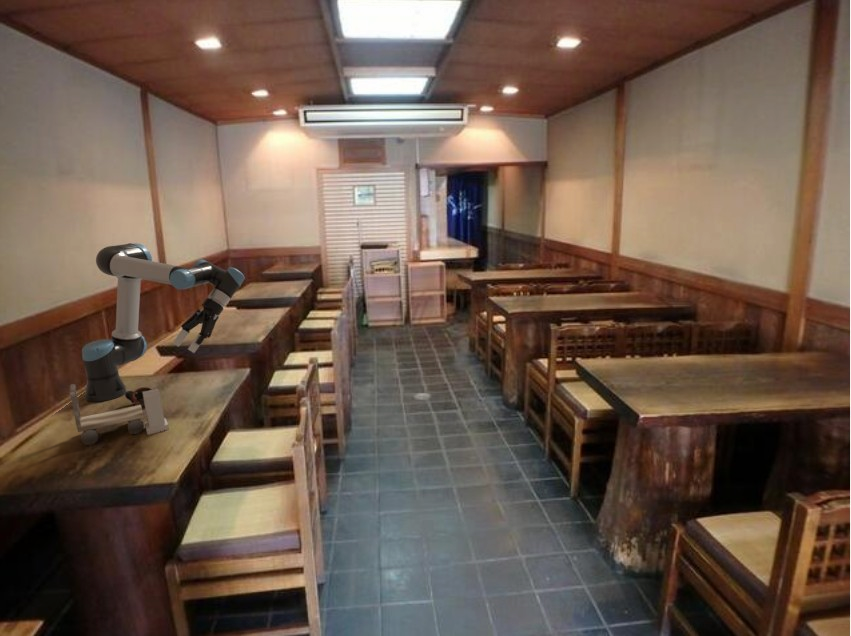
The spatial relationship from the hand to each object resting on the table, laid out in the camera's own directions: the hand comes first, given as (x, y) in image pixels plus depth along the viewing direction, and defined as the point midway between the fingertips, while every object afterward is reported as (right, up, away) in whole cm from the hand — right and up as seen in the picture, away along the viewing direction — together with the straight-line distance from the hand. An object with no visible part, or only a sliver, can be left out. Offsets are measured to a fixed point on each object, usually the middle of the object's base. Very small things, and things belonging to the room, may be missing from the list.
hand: (183, 348), depth 199 cm
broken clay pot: (-23, -24, +14) cm, 36 cm away
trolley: (-20, -30, -12) cm, 38 cm away
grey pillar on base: (-5, -29, -9) cm, 31 cm away
